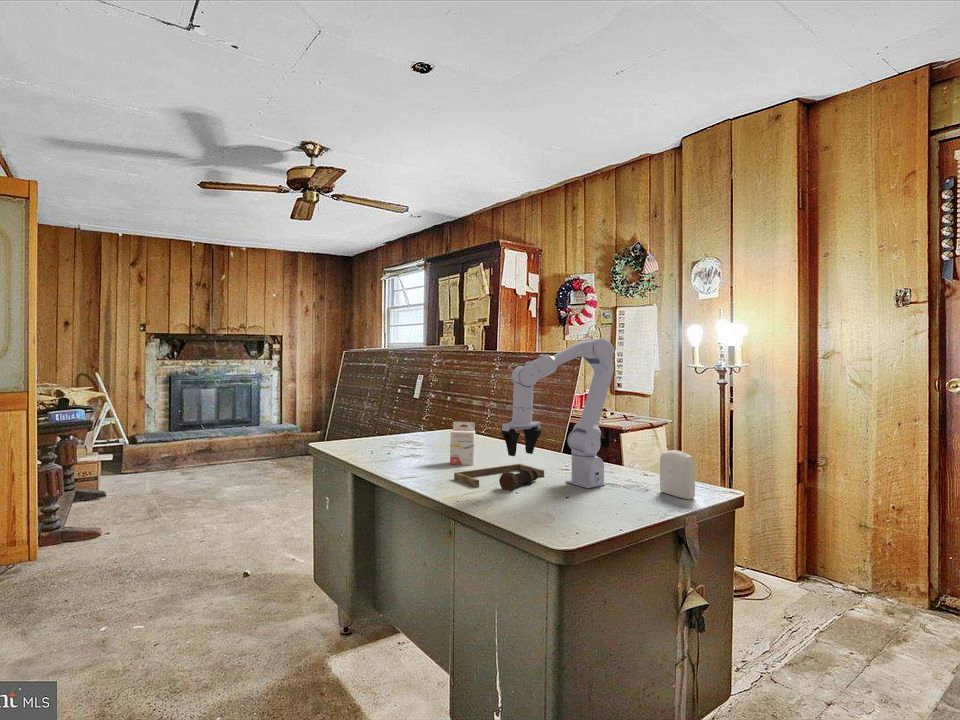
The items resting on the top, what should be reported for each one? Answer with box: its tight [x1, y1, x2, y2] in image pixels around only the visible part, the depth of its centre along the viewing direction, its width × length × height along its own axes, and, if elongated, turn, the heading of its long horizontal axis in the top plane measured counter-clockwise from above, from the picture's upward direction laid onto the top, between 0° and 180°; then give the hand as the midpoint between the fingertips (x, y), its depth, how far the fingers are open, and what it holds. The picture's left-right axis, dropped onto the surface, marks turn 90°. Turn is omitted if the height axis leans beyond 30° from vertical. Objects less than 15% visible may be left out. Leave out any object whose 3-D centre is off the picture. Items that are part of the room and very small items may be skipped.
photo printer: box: [659, 449, 696, 500], centre depth 148 cm, size 10×4×12 cm, turn 26°
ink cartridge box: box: [449, 421, 476, 466], centre depth 190 cm, size 9×5×15 cm, turn 84°
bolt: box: [498, 469, 539, 492], centre depth 158 cm, size 6×5×15 cm
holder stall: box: [453, 463, 545, 488], centre depth 168 cm, size 12×26×2 cm, turn 124°
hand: (520, 454), depth 154 cm, fingers open, 7 cm apart
